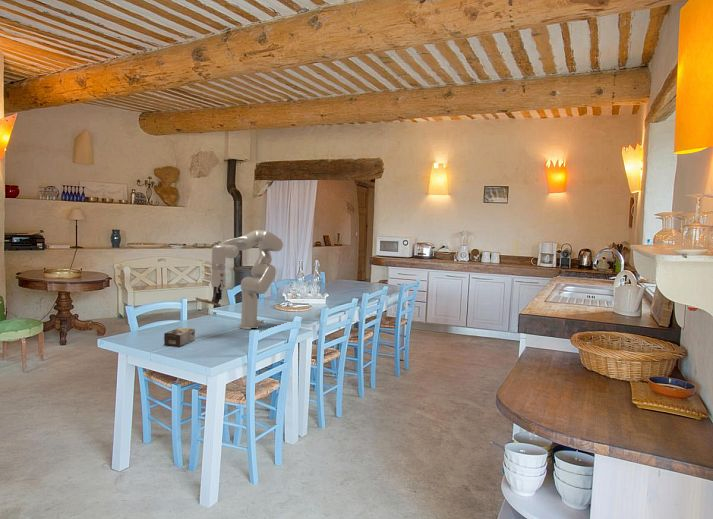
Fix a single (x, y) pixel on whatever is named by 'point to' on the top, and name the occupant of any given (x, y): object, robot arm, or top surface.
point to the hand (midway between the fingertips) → (217, 298)
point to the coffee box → (179, 336)
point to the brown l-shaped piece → (214, 301)
